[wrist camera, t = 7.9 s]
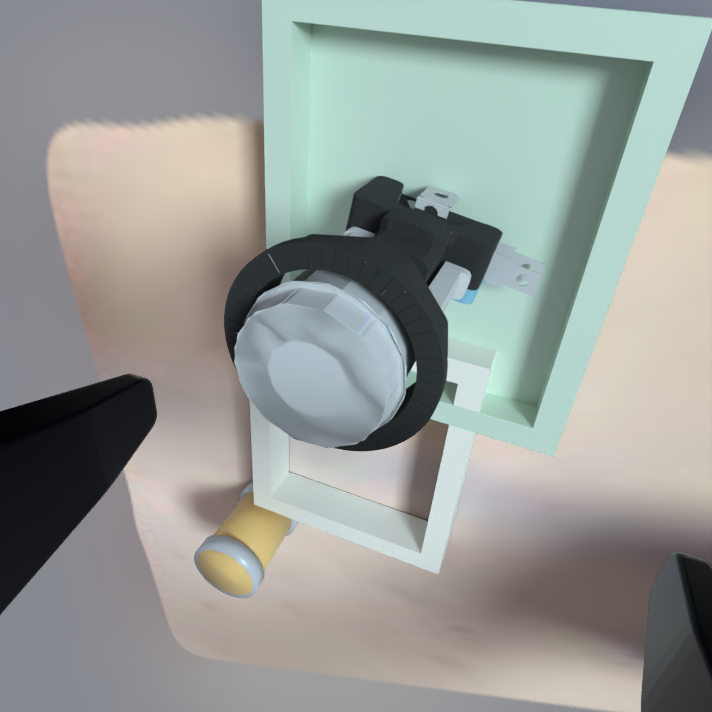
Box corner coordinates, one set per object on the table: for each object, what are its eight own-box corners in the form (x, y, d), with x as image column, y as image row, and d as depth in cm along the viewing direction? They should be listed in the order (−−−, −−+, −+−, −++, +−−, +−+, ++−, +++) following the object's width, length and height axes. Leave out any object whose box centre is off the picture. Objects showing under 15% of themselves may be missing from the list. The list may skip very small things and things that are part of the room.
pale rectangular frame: (499, 342, 21) (490, 369, 20) (447, 547, 28) (436, 579, 27) (269, 283, 24) (245, 302, 23) (272, 484, 31) (254, 509, 29)
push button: (577, 195, 17) (543, 355, 9) (511, 333, 20) (445, 539, 13) (381, 128, 18) (206, 219, 11) (347, 268, 22) (193, 418, 14)
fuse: (302, 491, 30) (255, 563, 27) (300, 534, 32) (257, 607, 29) (244, 470, 31) (191, 537, 28) (246, 513, 33) (197, 581, 30)
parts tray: (705, 17, 15) (715, 18, 13) (558, 424, 22) (553, 456, 21) (292, -21, 18) (261, -23, 16) (289, 347, 26) (268, 369, 24)
